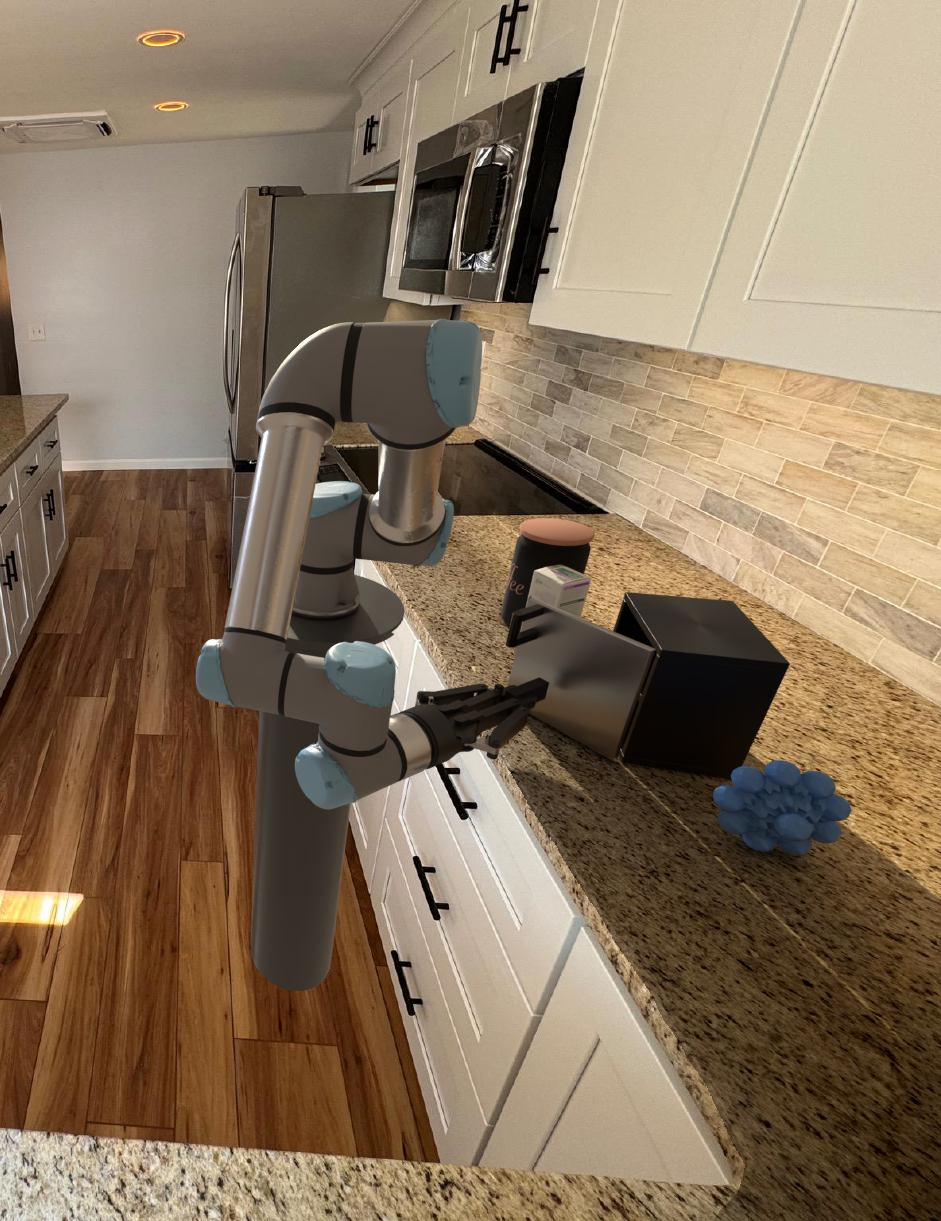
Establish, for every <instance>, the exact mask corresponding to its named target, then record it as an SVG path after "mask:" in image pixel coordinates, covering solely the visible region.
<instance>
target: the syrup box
mask: <svg viewBox="0 0 941 1221" xmlns="http://www.w3.org/2000/svg"><path fill="white" fill-rule="evenodd" d="M591 583H592V577H591V576H588V575H586V574H585V573H584V574H582V573H579V572H577V571H575V570H573V569H570V568H568V567H566V566H563V565H554V566H549V567H545V568H541V569H538V570H534V574H533V578H532V583H531V587H530V591H529V596H528V600H529V599H532V598H534V599H537V600H539V601H541V602H544V603H546V604H549V605H551V606H553V607H556V608H558V609H561V610H563V611H565V612H568V613H570V614H573V615H575V616H577V617H580V618H582V614H583V611H584V607H585V604H586V600H587V597H588V594H589V589H590V586H591ZM528 600H527V603H528ZM526 607H527V605H526ZM522 624H523V622H522ZM521 628H522V626H521ZM520 632H521V630H520Z"/></svg>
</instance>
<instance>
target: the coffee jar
mask: <svg viewBox="0 0 941 1221" xmlns="http://www.w3.org/2000/svg"><path fill="white" fill-rule="evenodd" d="M519 533H520V535H519V536H517V538H516V542H515V547H514V549H513V550H514V551H513V555H512V559H511V564H510V570H509V573H508V578H507V582H506V587H505V591H504V596H503V600H502V605H501V608H500V609H501V610H500V617H501V619H502V620H503V623H504V624H505V626H506V627H508V629H509V628H510V623H511V619H512V615H513V612H515V611H518V610H521V609H524V608H526V605H527V600H528V596H529V591H530V587H531V583H532V578H533V574H534V570H538V569H541V568H545V567H549V566H554V565H563V566H566V567H568V568H570V569H573V570H575V571H577V572H579V573H582V574H584V575H585V572H586V569H587V565H588V563H589V562H588V561H589V558H590V555H591V550H592V549H591V544H590V543H591V542H592V541H593V540H594V538H595V535H596V534H595V531H594V530H593V529H592V528H591V527H589V526H587V525H585V524H583V523H580V522H576V521H574V520H573V521H572V520H567V519H563V518H551V517H544V518H543V517H542V518H541V517H539V518H530V519H527V520H524V521H523V522H521V523H520V524H519ZM521 626H522V622H521ZM521 626H520V630H521ZM520 630H519V632H520Z"/></svg>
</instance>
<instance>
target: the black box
mask: <svg viewBox="0 0 941 1221" xmlns="http://www.w3.org/2000/svg"><path fill="white" fill-rule="evenodd" d="M612 631H613V632H616V633H618V634H621V635H623V636H625V637H628V638H630V639H633V640H635V641H637V642H640V643H642V644H645V645H647V646H649V647H652V648H654V649H656V651H655V653H654V656H653V659H652V662H651V665H650V667H649V670H648V673H647V676H646V679H645V682H644V684H643V687H642V690H641V693H640V696H639V699H638V701H637V704H636V707H635V710H634V713H633V715H632V718H631V721H630V724H629V727H628V730H627V732H626V735H625V738H624V741H623V744H622V746H621V749H620V752H619V755H618V758H619V759H620V761H621V763H626V764H632V765H638V766H644V767H651V768H657V769H664V770H670V771H677V772H683V773H690V774H695V775H701V776H702V775H703V776H708V777H715V778H724V779H728V780H732V779H731V774H732V772H733V770H735V769H736V768H738V767H741V766H744V763H745V761H746V759H747V757H748V755H749V752H750V750H751V749H752V746H753V745H754V742H755V740H756V737H757V735H758V733H759V731H760V729H761V727H762V725H763V723H764V721H765V718H766V716H767V714H768V712H769V709H770V708H771V705H772V704H773V701H774V699H775V697H776V695H777V693H778V691H779V689H780V686H781V684H782V683H783V680H784V678H785V675H786V673H787V671H788V669H789V668H790V665H791V663H790V661H789V660H788V659H787V658H786V657H785V656H784V655H783V654H782V653H781V652H780V651H779V650H778V649H777V647H775V645H774V644H773V643H772V642H771V641H770V639H768V637H767V636H766V635H765V634H764V633H763V632H762V631H761V630H760V628H758V626H757V625H755V623H754V622H753V621H752V620H751V619H750V618H749V617H748V615H747V614H745V612H744V611H743V610H742V609H741V608H740V607H739V606H738V605H737V603H735V602H734V601H733V600H725V599H715V598H703V597H702V598H701V597H690V596H678V595H665V594H653V593H643V592H632V591H631V592H630V591H625V592H624V594H623V599H622V601H621V604H620V608H619V611H618V614H617V617H616V620H615V624H614V627H613V630H612Z"/></svg>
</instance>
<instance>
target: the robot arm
mask: <svg viewBox="0 0 941 1221" xmlns="http://www.w3.org/2000/svg"><path fill="white" fill-rule="evenodd" d="M482 361H483V336H482V332H481V329H480V327H479V325H477V324H476V323H475V322H472V321H468V320H450V319H447V318H437V319H430V320H429V319H425V320H401V321H378V322H377V321H375V322H374V321H373V322H354V321H352V322H350V321H349V322H348V321H347V322H339V323H335V324H332V325H329V326H326V327H324V328H322V329H319V330H318V331H316V332H314V333H313V334H311V335H310V336H308V337H307V338H305V339H304V340H303V341H301V342H300V343H299V345H298V346H297V347H296V348H295V349H293V350H292V351H291V353H289V354H288V356H287V357H286V358H285V359H284V360H283V361H282V363H281V364H280V365H279V367H278V368H277V370H276V371H275V373H274V375H273V376H272V377H271V379H270V381H269V383H268V385H267V387H266V389H265V391H264V393H263V395H262V398H261V401H260V404H259V410H258V413H257V419H256V423H255V431H256V433H257V434H258V436H259V437H260V438H261V440H260V445H259V449H258V455H257V460H256V465H255V471H254V476H253V481H252V485H251V491H250V495H249V500H248V506H247V511H246V516H245V521H244V527H243V531H242V536H241V542H240V546H239V552H238V556H237V561H236V568H235V572H234V578H233V584H232V588H231V593H230V598H229V602H228V603H229V604H228V608H227V614H226V618H225V624H224V632H223V634H222V635H223V636H222V638H217V639H214V638H213V639H208V640H207V641H206V642H205V643H204V644H203V646H202V648H201V650H200V655H199V656H198V659H197V663H196V667H195V668H196V669H195V685H196V688H197V692H198V693H199V694H200V696H201V697H203V698H204V699H206V700H208V701H211V702H212V701H213V702H216V703H219V704H223V705H228V706H231V708H242V709H248V710H254V711H258V712H259V711H263V712H268V713H273V714H278V715H281V716H286V717H290V718H295V719H299V720H304V721H309V722H313V723H318V724H319V735H318V742H317V743H316V744H311V745H310V746H308V747H307V748H305V749H303V750H301V752H300V753H299V754H298V756H297V757H296V760H295V772H296V776H297V780H298V782H299V785H300V787H301V789H302V790H303V792H304V793H305V795H306V796H307V797H308V798H309V799H310V800H311V801H312V802H313V803H314V804H315V805H316V806H318V807H320V808H323V809H334V808H337V807H340V806H343V805H346V804H349V803H351V804H354V803H356V802H357V801H359V800H361V799H364V798H365V797H368V796H370V795H372V794H374V793H377V792H379V791H381V790H383V789H386V788H388V787H390V786H392V785H394V784H397V783H399V782H401V781H404V780H406V779H409V778H411V777H413V776H415V775H418V774H420V773H422V772H424V771H426V770H430V769H433V768H434V767H437V766H439V765H442V764H444V763H446V762H448V761H450V760H452V759H453V758H454V757H455V756H456V755H458V754H459V753H470V752H473V751H474V750H479V751H482V752H486V758H488V759H490V760H498V757H499V753H500V750H501V749H502V748H503V747H504V746H505V745H506V744H507V743H509V742H510V741H511V740H512V739H513V738H514V737H515V736H516V735H517V734H518V733H520V732H521V731H522V730H523V729H524V728H525V727H526V725H527V723H528V722H527V721H528V718H529V715H530V714H529V711H530V709H532V708H534V707H535V705H536V703H537V702H539V701H541V700H544V699H545V697H546V693H547V690H548V686H549V683H550V682H548V681H546V680H544V679H542V678H540V677H539V678H536V679H534V680H531V681H529V682H526V683H524V684H521V685H519V686H516V685H510V686H508V685H507V686H504V685H503V684H502V683H495V684H494V686H493V688H489V686H488V684H486V683H475V684H470V685H464V686H458V687H452V688H447V689H446V688H445V689H441V690H434V691H431V690H430V691H429V690H418V691H417V692H416V697H415V704H414V706H412V707H409V708H407V709H404V710H401V711H399V712H397V713H394V714H392V709H393V703H394V699H395V691H396V690H395V687H396V686H395V685H396V673H397V669H396V662H395V661H394V658H393V657H392V655H391V654H390V653H389V652H387V650H385V648H384V649H383V648H382V647H381V646H378V645H377V644H376V645H373V644H370V643H366V642H360V641H355V642H354V643H348V642H342V643H339V644H336V645H334V646H332V647H331V648H330V649H329V650H328V652H327V654H326V657H325V658H321V657H315V656H309V655H303V654H297V653H292V652H286V651H285V644H286V640H287V636H288V631H289V625H290V620H291V615H294V616H297V617H300V618H304V619H310V620H320V621H328V620H337V619H342V618H346V617H348V616H351V615H352V614H354V613H355V612H356V611H357V610H358V608H359V604H360V600H361V599H360V593H359V589H358V585H357V581H356V578H355V575H356V574H355V571H354V570H355V569H354V563H355V560H365V561H373V562H381V563H390V564H399V565H409V566H413V567H417V568H418V567H434V566H437V565H438V564H439V563H440V562H441V561H442V559H443V558H444V556H445V554H446V550H447V548H448V546H447V545H448V543H449V539H450V536H451V533H452V528H453V524H454V523H453V522H454V514H455V508H454V504H453V502H452V501H451V500H448V499H445V498H443V496H442V495H441V494H440V492H439V485H440V478H441V473H442V464H443V461H444V460H443V459H444V452H445V445H446V440H447V439H448V438H450V437H451V436H452V435H453V434H454V432H456V430H457V429H458V428H461V427H466V426H470V424H472V423H473V422H474V420H475V418H476V414H477V408H478V405H479V396H480V389H481V377H482V376H481V374H482V369H481V368H482ZM340 422H341V423H344V424H345V423H346V424H349V423H350V424H366V426H367V429H368V431H369V433H370V434H371V436H372V437H373V438H374V439H375V440H376V441H377V444H378V445H377V446H378V448H377V450H378V452H377V453H378V455H377V456H378V458H377V460H378V461H377V462H378V467H377V468H378V469H377V470H378V491H377V492H376V493H375V494H367V493H363V490H362V486H361V485H360V484H358V483H356V482H351V481H347V480H346V481H345V480H343V481H342V480H337V481H336V480H335V481H325V482H319V483H317V480H318V479H317V478H318V474H319V467H320V462H321V457H322V452H323V446H325V445H326V444H328V443H329V442H331V441H332V439H333V437H334V432H335V427H336V424H337V423H340ZM491 729H492V731H491V732H487V733H486V735H484V736H482V737H480V736H481V734H482V733H485V732H486V731H488V730H491ZM479 737H480V738H479Z"/></svg>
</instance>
